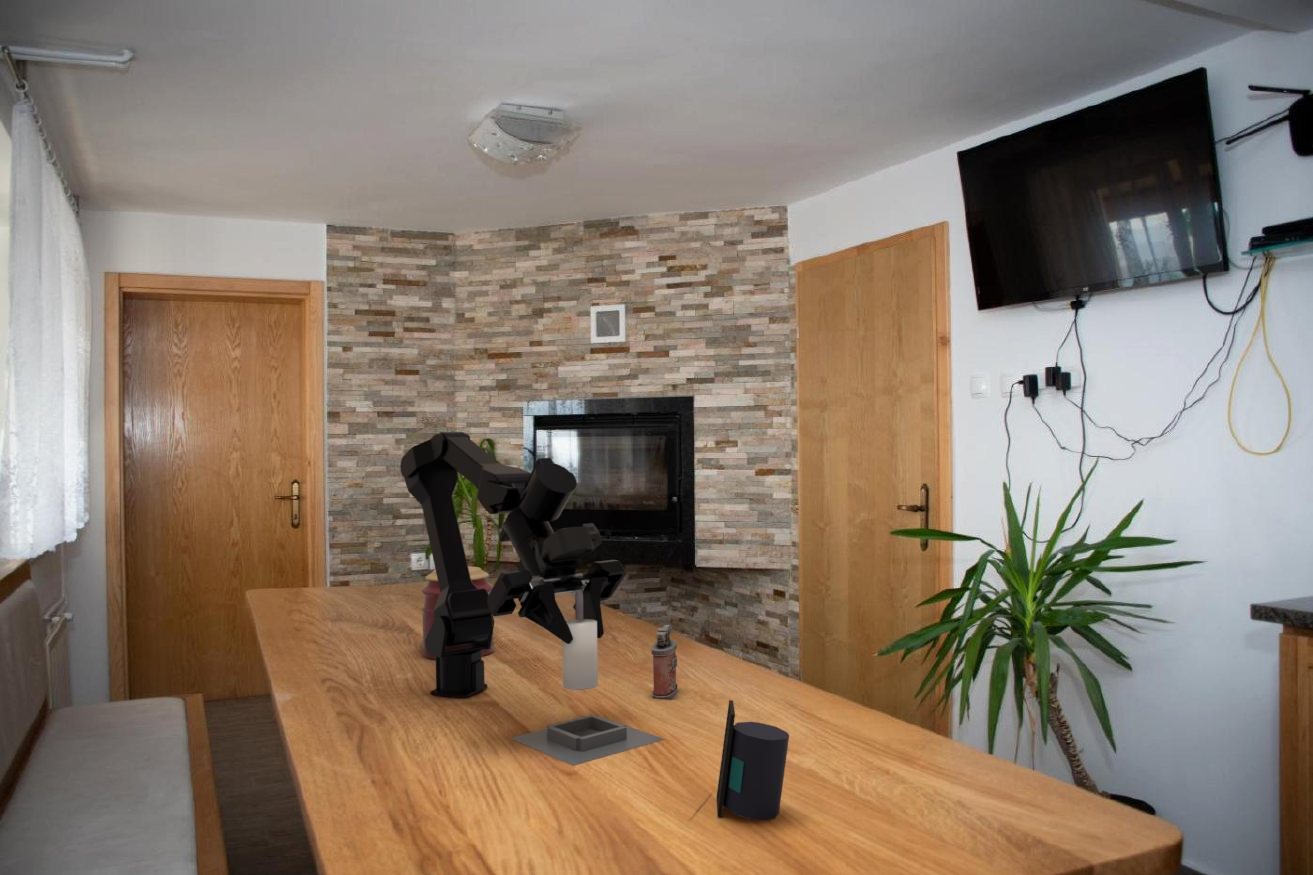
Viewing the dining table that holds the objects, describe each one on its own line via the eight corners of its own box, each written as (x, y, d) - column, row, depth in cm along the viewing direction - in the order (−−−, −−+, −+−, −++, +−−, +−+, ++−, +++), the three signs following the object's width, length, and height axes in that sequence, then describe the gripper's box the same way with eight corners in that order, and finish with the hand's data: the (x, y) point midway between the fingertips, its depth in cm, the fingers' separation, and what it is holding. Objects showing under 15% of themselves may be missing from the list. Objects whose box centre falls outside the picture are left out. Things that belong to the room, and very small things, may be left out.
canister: (509, 649, 173) (507, 554, 173) (459, 664, 162) (457, 562, 162) (458, 643, 180) (456, 551, 180) (406, 656, 169) (405, 558, 169)
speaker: (697, 814, 93) (707, 710, 93) (716, 797, 98) (726, 698, 99) (771, 833, 90) (781, 725, 90) (787, 814, 95) (796, 712, 96)
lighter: (671, 702, 135) (670, 633, 135) (648, 702, 136) (647, 632, 136) (681, 688, 143) (679, 622, 143) (659, 687, 144) (658, 622, 144)
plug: (557, 688, 117) (555, 592, 117) (572, 680, 121) (570, 587, 121) (589, 691, 116) (587, 593, 116) (603, 682, 120) (601, 588, 120)
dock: (509, 741, 118) (509, 726, 118) (598, 719, 127) (598, 704, 127) (573, 769, 108) (572, 752, 108) (665, 743, 117) (665, 727, 117)
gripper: (497, 508, 116) (548, 608, 107) (616, 500, 128) (671, 590, 119) (466, 566, 122) (513, 665, 113) (583, 553, 134) (633, 642, 125)
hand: (586, 639), depth 117 cm, fingers closed on plug, 4 cm apart
